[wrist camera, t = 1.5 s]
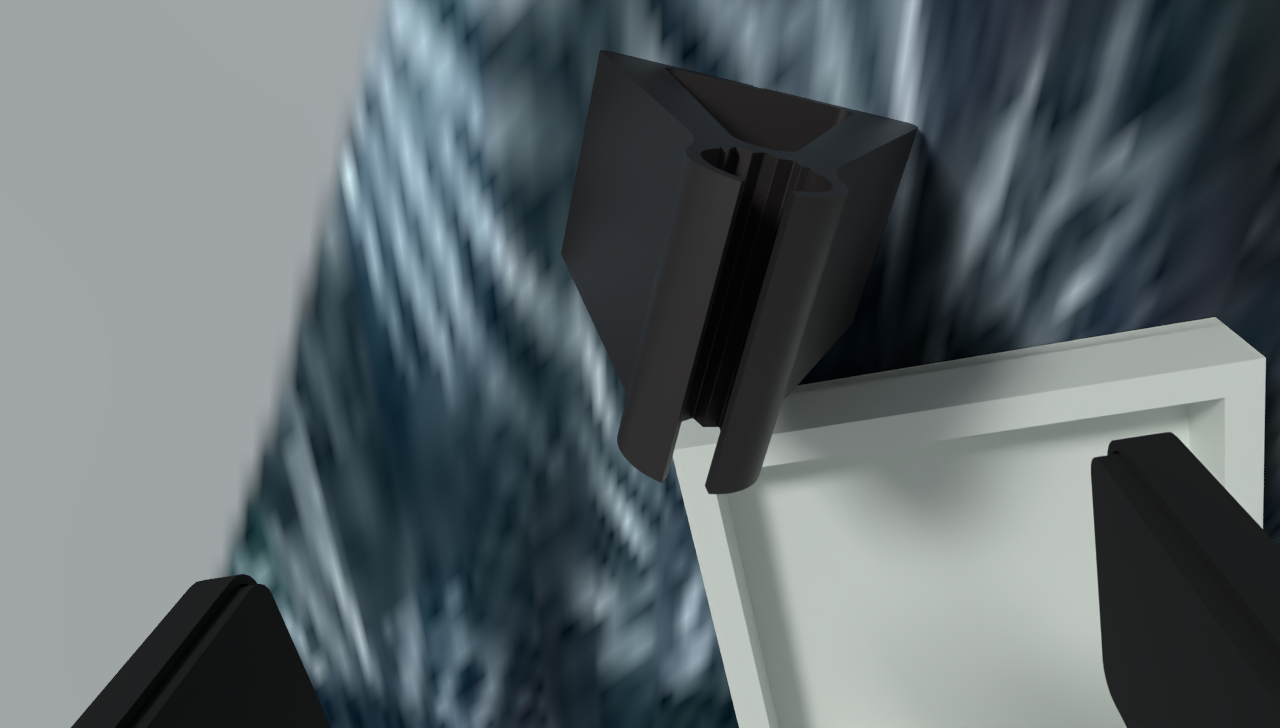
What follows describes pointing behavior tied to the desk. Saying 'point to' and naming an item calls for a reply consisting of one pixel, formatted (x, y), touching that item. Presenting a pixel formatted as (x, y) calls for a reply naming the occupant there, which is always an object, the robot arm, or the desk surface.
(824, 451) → the tray
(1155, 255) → the desk surface
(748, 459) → the phone stand
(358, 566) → the desk surface
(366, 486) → the desk surface
